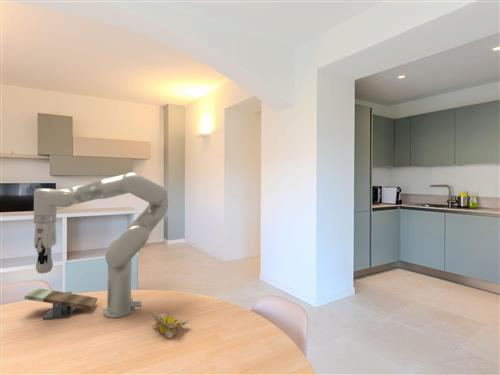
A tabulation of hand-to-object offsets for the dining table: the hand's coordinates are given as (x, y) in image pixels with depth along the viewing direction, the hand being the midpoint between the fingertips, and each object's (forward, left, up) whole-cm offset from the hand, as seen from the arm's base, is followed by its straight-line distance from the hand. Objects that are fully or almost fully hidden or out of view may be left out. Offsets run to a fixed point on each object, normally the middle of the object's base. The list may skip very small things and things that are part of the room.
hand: (44, 263), depth 120 cm
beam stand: (-4, -8, -23) cm, 25 cm away
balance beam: (-4, -8, -18) cm, 20 cm away
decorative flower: (-50, +19, -24) cm, 58 cm away
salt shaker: (0, 0, -3) cm, 3 cm away
